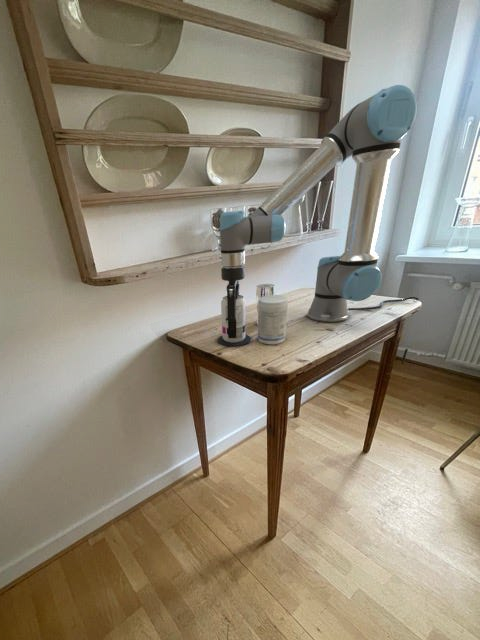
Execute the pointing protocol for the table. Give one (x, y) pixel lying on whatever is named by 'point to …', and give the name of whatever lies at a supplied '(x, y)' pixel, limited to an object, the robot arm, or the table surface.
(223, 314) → the supplement can
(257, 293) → the beer glass
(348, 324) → the table surface
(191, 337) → the table surface
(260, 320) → the supplement tub
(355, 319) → the table surface
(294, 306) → the table surface
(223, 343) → the coaster
